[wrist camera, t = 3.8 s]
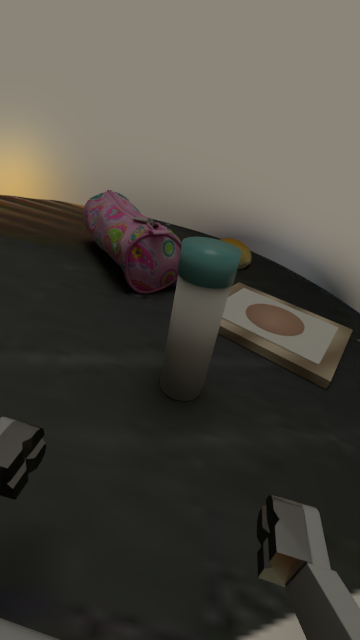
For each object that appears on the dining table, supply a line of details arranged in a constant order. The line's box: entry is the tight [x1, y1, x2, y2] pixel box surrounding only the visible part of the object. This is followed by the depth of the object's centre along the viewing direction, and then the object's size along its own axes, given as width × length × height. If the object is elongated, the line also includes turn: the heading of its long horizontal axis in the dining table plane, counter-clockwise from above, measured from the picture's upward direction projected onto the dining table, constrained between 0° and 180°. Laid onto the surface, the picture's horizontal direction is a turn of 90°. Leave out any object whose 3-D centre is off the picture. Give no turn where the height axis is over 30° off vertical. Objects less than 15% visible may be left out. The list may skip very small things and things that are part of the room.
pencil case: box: [83, 190, 182, 294], centre depth 43 cm, size 21×9×9 cm, turn 28°
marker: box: [160, 237, 242, 401], centre depth 22 cm, size 4×4×12 cm
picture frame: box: [218, 283, 352, 389], centre depth 35 cm, size 16×13×1 cm
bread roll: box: [220, 238, 251, 270], centre depth 53 cm, size 8×9×4 cm
